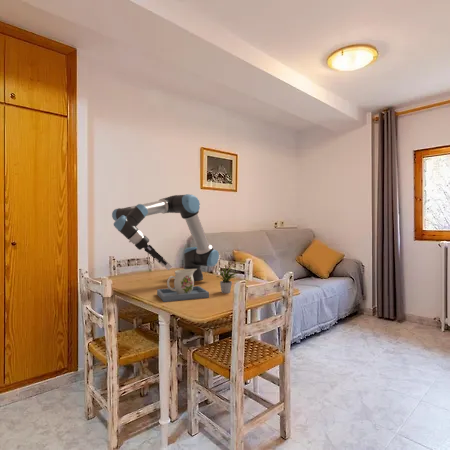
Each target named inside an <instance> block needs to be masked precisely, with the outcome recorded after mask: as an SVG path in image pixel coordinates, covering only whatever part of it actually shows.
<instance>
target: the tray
mask: <svg viewBox="0 0 450 450" xmlns="http://www.w3.org/2000/svg"><path fill="white" fill-rule="evenodd" d="M171 288H172V289H175V287H171ZM156 295H157V296H158V298H160V300H161V301H162V302H163V303H167V302H178V301H180V302H181V301H188V300H190V301H191V300H199V299H208V298H210V292H209V291H208V290H206V289H205V288H203V287H201V286H200V285H196V286H193V290H192V292H191V293H190V294H179V295H178V294H177V292H175V291H171V290H170V289H169V288H168V287H167V288H160V289H159V288H158V289H156Z"/></svg>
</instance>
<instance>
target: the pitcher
mask: <svg viewBox="0 0 450 450" xmlns="http://www.w3.org/2000/svg"><path fill="white" fill-rule="evenodd" d="M195 270H197V269H178V270H175V271H174V274H175V275H170V276H169V277H168V279H167V281H166V285H167V289H168V288H169V289H170V290H171V291H175V292H177V294H178V295H179V294H190V293H191V292H192V290H193V286H194V285H195V281H194V278H193V273H194V271H195ZM171 279H174V281H173V285H174V287H171V286H170V281H171ZM172 288H175V289H172Z"/></svg>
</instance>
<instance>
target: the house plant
mask: <svg viewBox="0 0 450 450" xmlns="http://www.w3.org/2000/svg"><path fill="white" fill-rule="evenodd" d="M220 268H221V269H220ZM214 269H216V270H217V271H218V272H219V275H217V276H216V278H220V279H221V280H220V281H219V283H220V284H219V285H220V291H221V294H230V293H231V291H232V290H231V289H232V285H233V284H232V283H233V281H231V279H235V278H236V275H237V274H238V273H237V272H234V273H232V272H233V271H234V269H232V266H230V267H229V268H228V269H227V266H225V268H224V267H223V268H222V267H219V268H218V267H217V268H216V267H215V268H214ZM231 269H232V270H231ZM221 270H222V271H221ZM234 275H235V276H234Z"/></svg>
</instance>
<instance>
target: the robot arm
mask: <svg viewBox="0 0 450 450" xmlns="http://www.w3.org/2000/svg"><path fill="white" fill-rule="evenodd" d="M200 205H201V203H200V199H199V198H198V197H197V196H196V195H194V194H189V193H188V194H175V195H170V196H166V197H164V198H159V200H158V201H152V202H147V203H143V204H142V203H138V204H136V205H132V206H127V207H126V206H125V207H121V208H120V207H117V208H115V209H114V210H112V212H111V217H112V219H113V220H114V223H113V227H114V228H115V229H116V230H117V231H118V232H119V233H120V234H122V235H123V236H124V237H125V238H126V239H127V240H128V243H131V244H132V245H134V247H136V249H138V250H142V249H143V250H144V251H145V252H146V253H147V254H148V255H150V256H151V257H152V258H153V259H154V260H155V261H156V262H157V263H159V265H160V266H162V267H164V268H165V269H167V271H170V270H171V269H172V268H173V265H172V264H170V263H169V262H168V261H167V260H166V259H165V258H164V256H162V255H161V254H160V253H159V252H157V251H156V249H155V248H154V247H153V246H152V245H151V244H149V242H150V239H149V238H148V237H147V236H146V235H145V234H144V232H143V231H141V230H140V229H139V228H138V225H139V224H140V223H142V221H143V220H144V219H145V218H146V217H149V216H153V215H157V214H169V213H170V214H171V213H172V214H180V216H181V218H182V219H184V220H185V222H186V225H187V227H188V230H189V232H190V234H191V237H192V239H193V242H194V245H195V247H194V246H193V247H191V246H190V247H186V248H185V249H184V250H183V251H184V252H183V263H184V267H183V268H184V269H197V270H195V271H194V273H193V278H194V282H196V281H197V282H198V281H202V280H203V279H204V275H203V272H202V269H201V266H202V267H207V268H208V267H215V266H216V265H217V264H218V262H219V259H220V254H219V251H218V250H216V249H214V247H213V245H212V244H211V243H209V241H208V238H207V236H206V233H205V230H204V227H203V225H202V221H201V220H200V217H199V213H200V211H199V210H200ZM184 269H183V270H184Z"/></svg>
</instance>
